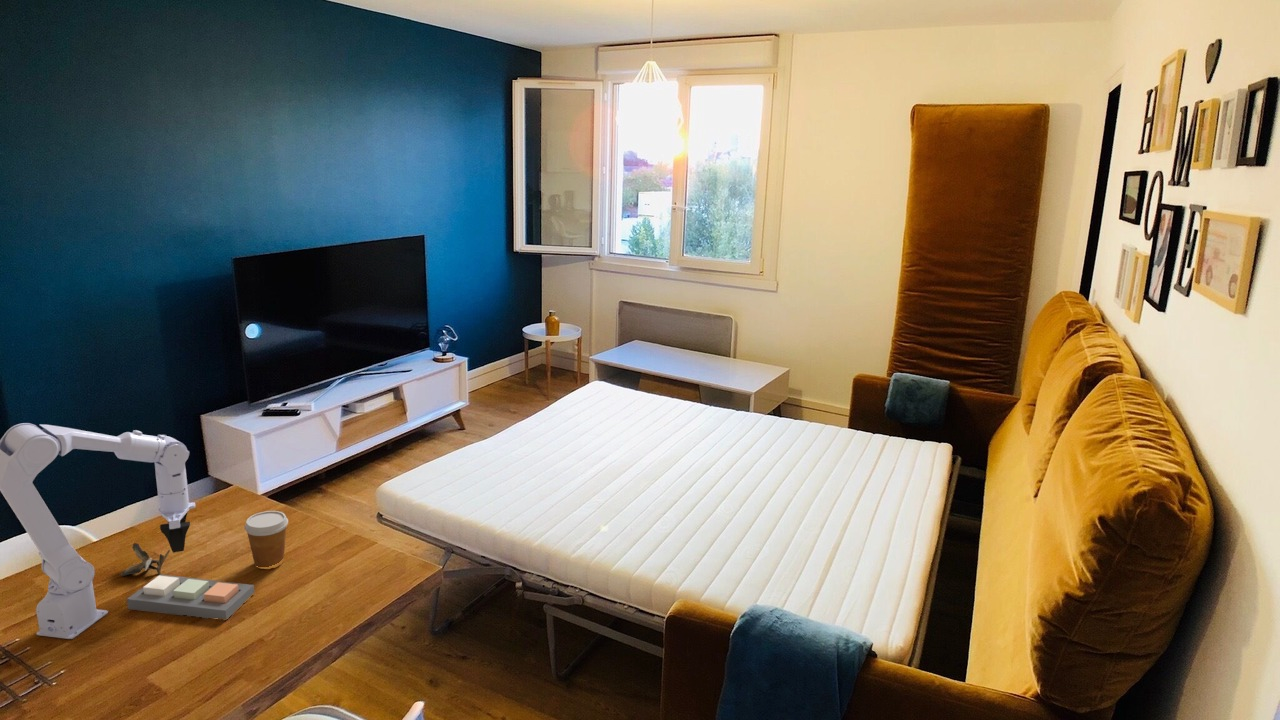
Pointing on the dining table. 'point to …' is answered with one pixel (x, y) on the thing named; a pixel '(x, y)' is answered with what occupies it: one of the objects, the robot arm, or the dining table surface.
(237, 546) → the dining table surface
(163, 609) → the key frame
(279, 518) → the disposable coffee cup
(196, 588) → the sage key
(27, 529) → the robot arm
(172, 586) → the ivory key
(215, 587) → the terracotta key
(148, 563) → the eagle figurine
